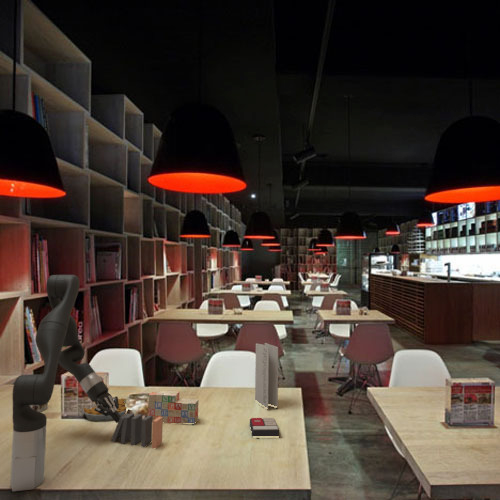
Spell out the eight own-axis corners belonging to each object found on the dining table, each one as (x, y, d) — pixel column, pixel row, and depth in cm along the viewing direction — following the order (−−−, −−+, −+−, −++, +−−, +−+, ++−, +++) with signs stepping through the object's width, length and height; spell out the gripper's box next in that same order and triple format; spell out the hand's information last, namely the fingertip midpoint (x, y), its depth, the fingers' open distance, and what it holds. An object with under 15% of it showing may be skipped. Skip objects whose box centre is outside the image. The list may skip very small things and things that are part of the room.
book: (274, 416, 178) (279, 428, 163) (274, 426, 178) (279, 439, 163) (249, 417, 177) (252, 428, 162) (249, 427, 177) (252, 439, 162)
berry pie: (78, 424, 175) (79, 412, 175) (85, 408, 196) (85, 397, 196) (131, 420, 181) (131, 409, 181) (132, 404, 202) (132, 394, 202)
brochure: (254, 402, 208) (255, 343, 210) (264, 400, 210) (265, 342, 212) (267, 410, 195) (268, 348, 197) (277, 409, 198) (278, 347, 199)
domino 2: (131, 438, 160) (134, 413, 161) (124, 444, 155) (127, 417, 156) (127, 438, 161) (130, 412, 161) (120, 443, 156) (123, 417, 156)
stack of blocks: (198, 420, 182) (199, 392, 183) (194, 425, 176) (195, 396, 176) (153, 417, 185) (153, 389, 186) (147, 422, 179) (148, 393, 179)
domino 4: (151, 441, 158) (152, 415, 158) (144, 447, 153) (145, 420, 154) (148, 441, 158) (148, 415, 159) (141, 446, 153) (141, 419, 154)
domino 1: (121, 437, 162) (130, 414, 161) (114, 442, 157) (123, 419, 156) (118, 435, 162) (127, 413, 161) (110, 440, 157) (120, 417, 157)
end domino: (162, 443, 157) (162, 417, 157) (155, 448, 152) (156, 421, 152) (158, 442, 157) (159, 416, 158) (151, 448, 152) (152, 421, 153)
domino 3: (141, 440, 159) (142, 414, 160) (134, 445, 154) (135, 418, 155) (137, 439, 160) (138, 414, 160) (130, 445, 155) (131, 418, 155)
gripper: (89, 384, 157) (115, 420, 152) (109, 376, 169) (134, 409, 165) (77, 397, 158) (103, 433, 154) (98, 388, 170) (123, 421, 166)
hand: (119, 421), depth 159 cm, fingers closed
